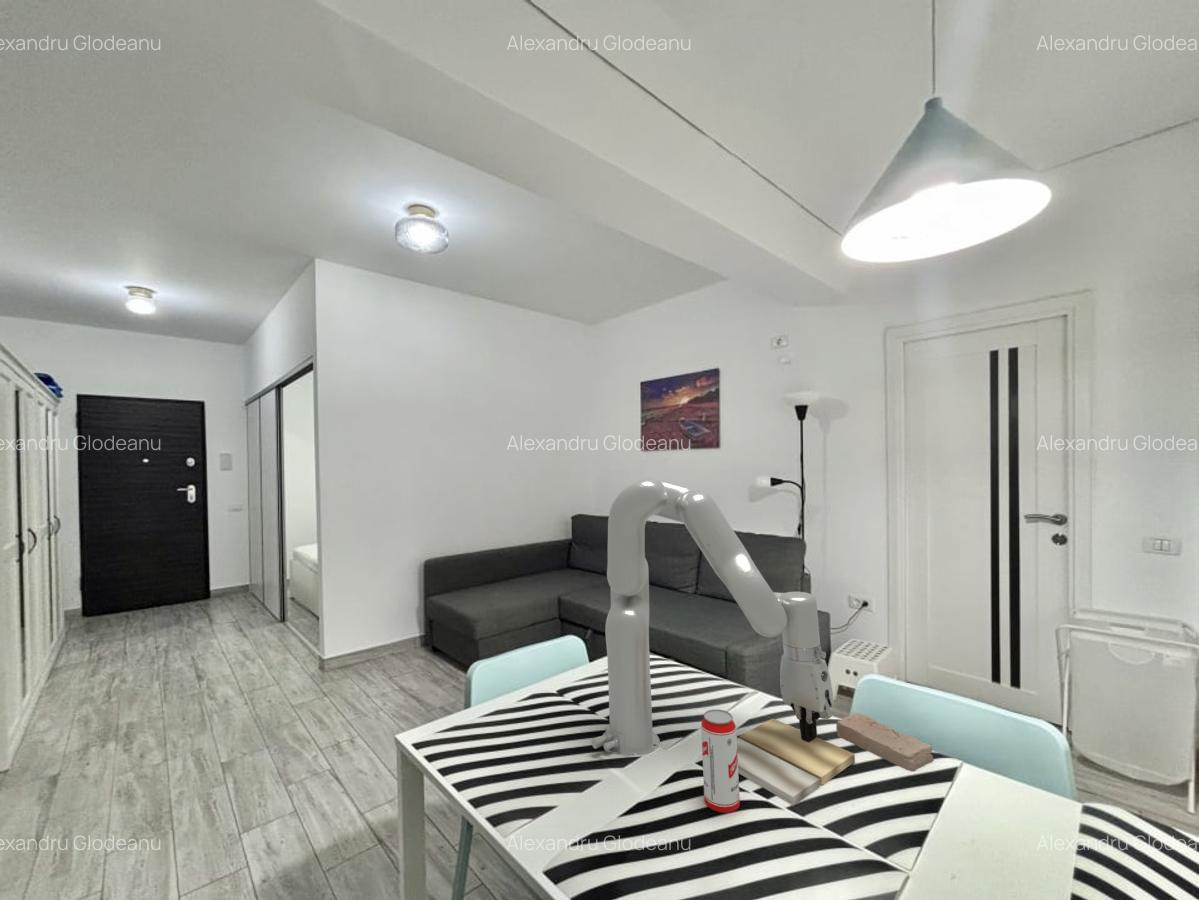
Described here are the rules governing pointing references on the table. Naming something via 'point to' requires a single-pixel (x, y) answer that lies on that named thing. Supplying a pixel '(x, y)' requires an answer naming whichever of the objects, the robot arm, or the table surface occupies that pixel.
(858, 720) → the brick
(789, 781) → the board
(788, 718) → the table surface
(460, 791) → the table surface
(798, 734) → the oak plank
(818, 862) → the table surface
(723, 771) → the beer can
